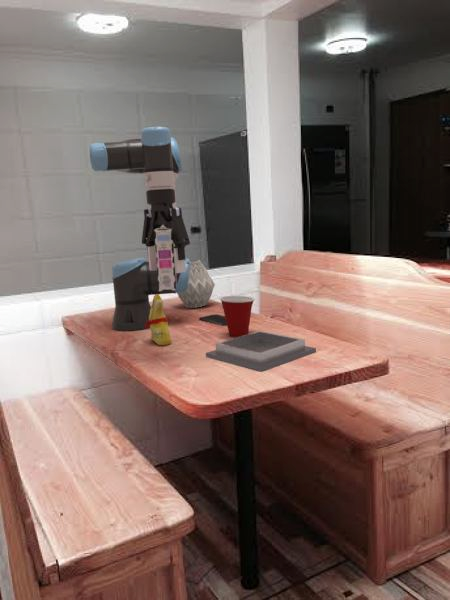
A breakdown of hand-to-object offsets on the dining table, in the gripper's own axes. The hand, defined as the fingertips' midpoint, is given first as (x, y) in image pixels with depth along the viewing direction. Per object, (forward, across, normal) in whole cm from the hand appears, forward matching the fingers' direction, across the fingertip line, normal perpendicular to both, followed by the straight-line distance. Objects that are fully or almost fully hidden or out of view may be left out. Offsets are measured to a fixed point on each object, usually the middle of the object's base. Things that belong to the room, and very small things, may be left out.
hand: (167, 271), depth 145 cm
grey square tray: (+24, +19, +15) cm, 34 cm away
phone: (+24, -21, +35) cm, 47 cm away
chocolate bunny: (+24, -15, +5) cm, 29 cm away
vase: (+24, -49, +47) cm, 72 cm away
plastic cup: (+24, -1, +26) cm, 35 cm away
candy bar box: (+5, 0, 0) cm, 5 cm away
